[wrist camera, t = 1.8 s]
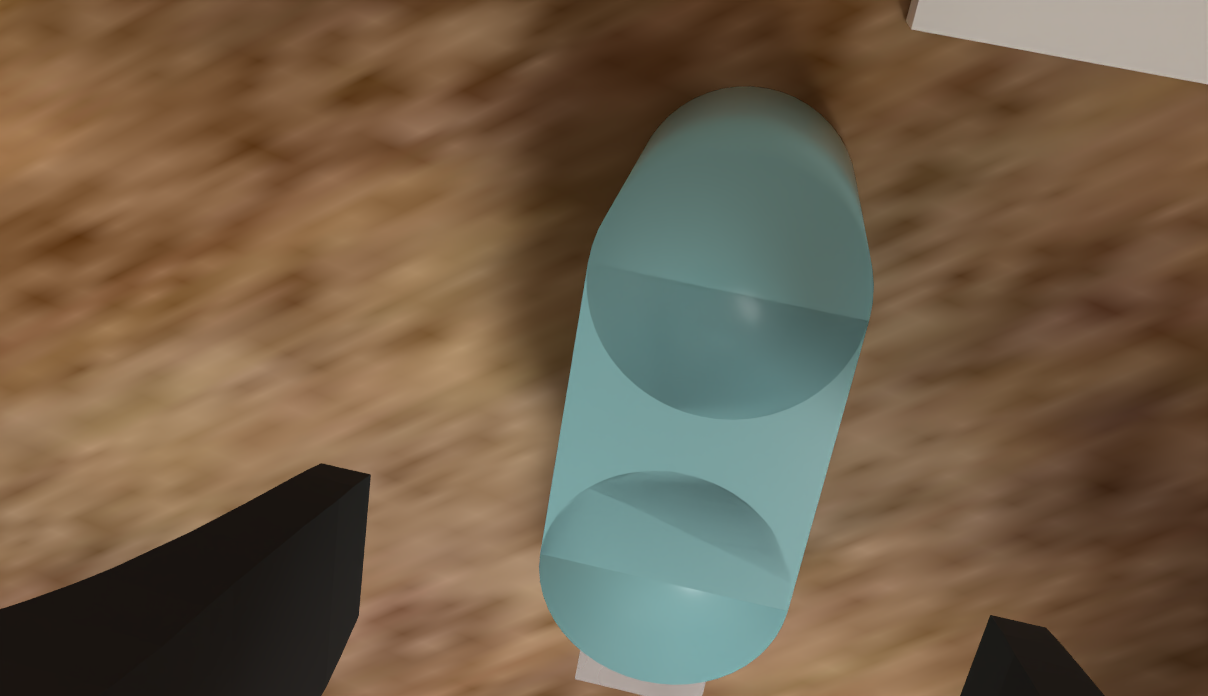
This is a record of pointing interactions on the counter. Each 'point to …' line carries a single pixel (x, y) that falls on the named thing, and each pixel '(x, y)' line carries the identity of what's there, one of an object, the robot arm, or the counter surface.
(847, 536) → the counter surface
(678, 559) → the plug block
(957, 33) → the tile
